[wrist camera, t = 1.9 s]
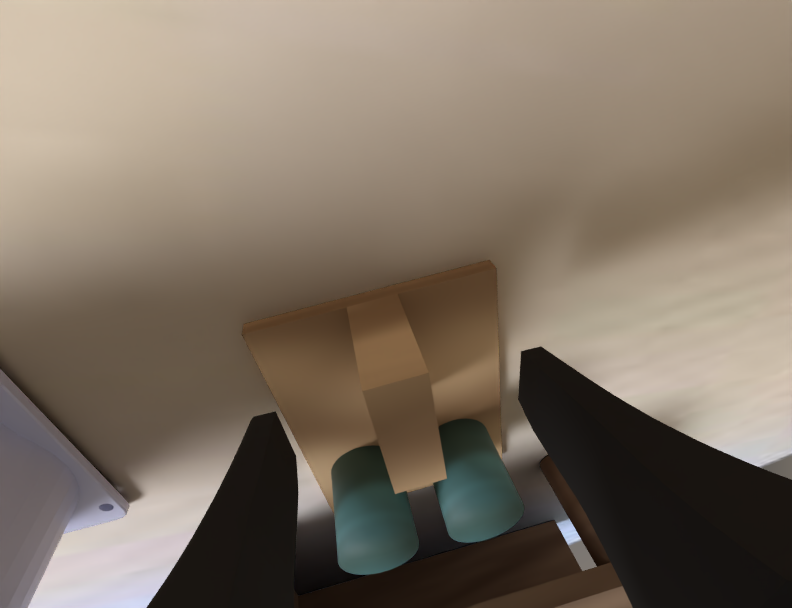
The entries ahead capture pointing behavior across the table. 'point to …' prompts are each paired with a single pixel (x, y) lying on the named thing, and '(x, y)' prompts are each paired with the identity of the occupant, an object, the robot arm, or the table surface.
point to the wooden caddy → (493, 572)
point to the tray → (396, 409)
